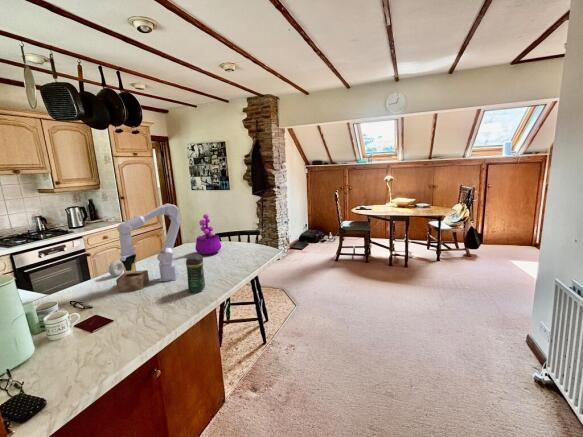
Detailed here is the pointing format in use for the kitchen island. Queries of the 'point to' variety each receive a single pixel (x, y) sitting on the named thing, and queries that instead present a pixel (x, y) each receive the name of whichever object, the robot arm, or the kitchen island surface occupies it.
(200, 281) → the coffee jar
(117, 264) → the donut
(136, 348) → the kitchen island surface
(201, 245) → the decorative plant
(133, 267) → the wooden block
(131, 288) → the brown square open block
